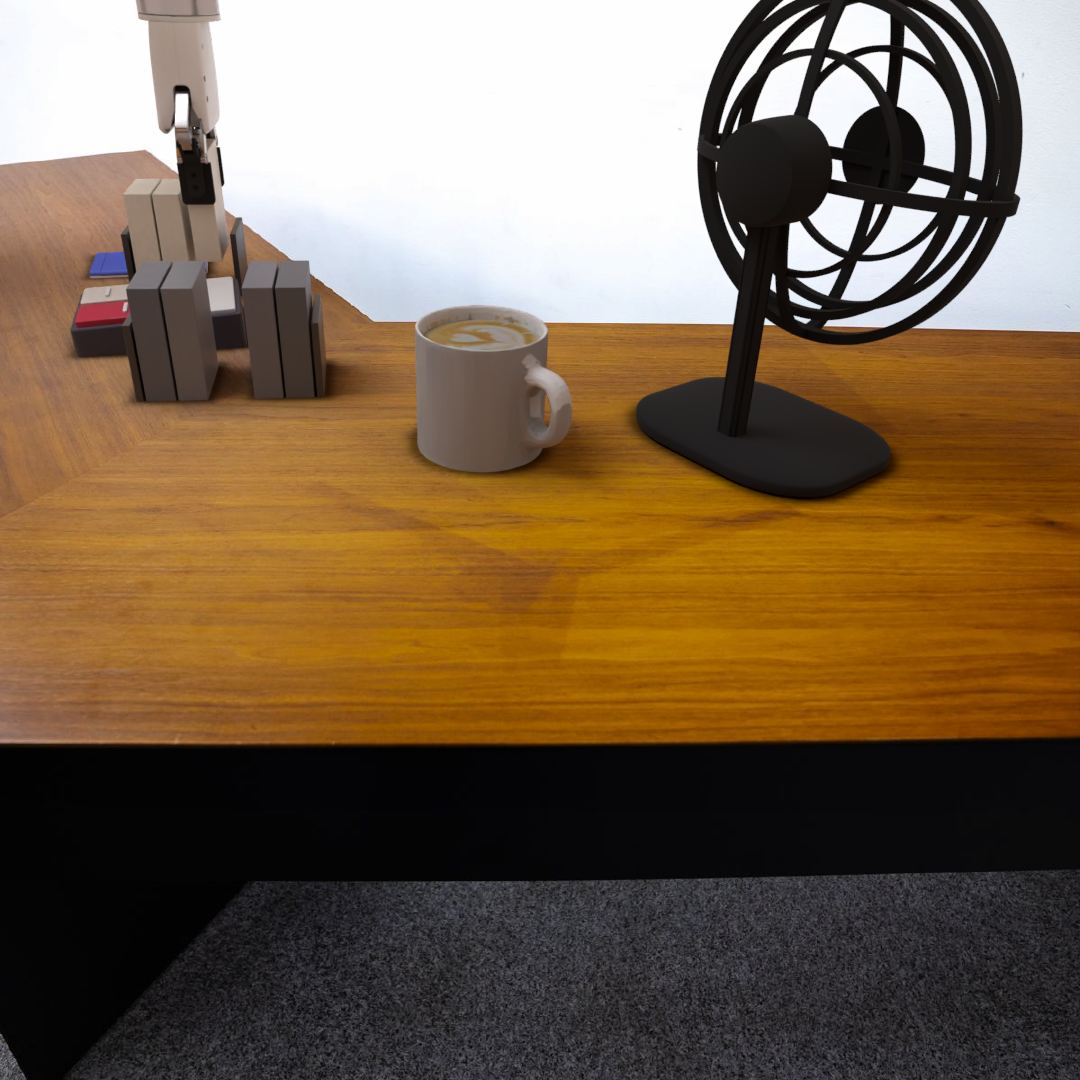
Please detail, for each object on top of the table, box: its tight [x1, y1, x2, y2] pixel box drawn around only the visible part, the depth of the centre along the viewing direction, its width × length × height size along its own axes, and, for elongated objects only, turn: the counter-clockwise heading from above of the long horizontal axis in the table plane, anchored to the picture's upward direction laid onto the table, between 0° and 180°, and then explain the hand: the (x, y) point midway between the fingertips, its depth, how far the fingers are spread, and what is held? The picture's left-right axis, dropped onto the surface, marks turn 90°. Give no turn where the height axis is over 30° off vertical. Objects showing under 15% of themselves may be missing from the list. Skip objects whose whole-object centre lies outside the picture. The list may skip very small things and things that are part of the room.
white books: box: [120, 178, 249, 297], centre depth 105 cm, size 11×7×11 cm, turn 99°
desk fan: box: [635, 0, 1024, 498], centre depth 72 cm, size 27×18×35 cm, turn 40°
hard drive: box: [89, 251, 209, 279], centre depth 113 cm, size 2×8×12 cm
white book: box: [188, 139, 230, 263], centre depth 103 cm, size 3×7×11 cm, turn 9°
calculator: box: [69, 276, 248, 358], centre depth 95 cm, size 11×4×15 cm
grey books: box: [122, 260, 327, 403], centre depth 84 cm, size 15×8×10 cm, turn 99°
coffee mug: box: [414, 304, 573, 473], centre depth 75 cm, size 13×10×10 cm
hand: (204, 193), depth 103 cm, fingers closed on white book, 7 cm apart
